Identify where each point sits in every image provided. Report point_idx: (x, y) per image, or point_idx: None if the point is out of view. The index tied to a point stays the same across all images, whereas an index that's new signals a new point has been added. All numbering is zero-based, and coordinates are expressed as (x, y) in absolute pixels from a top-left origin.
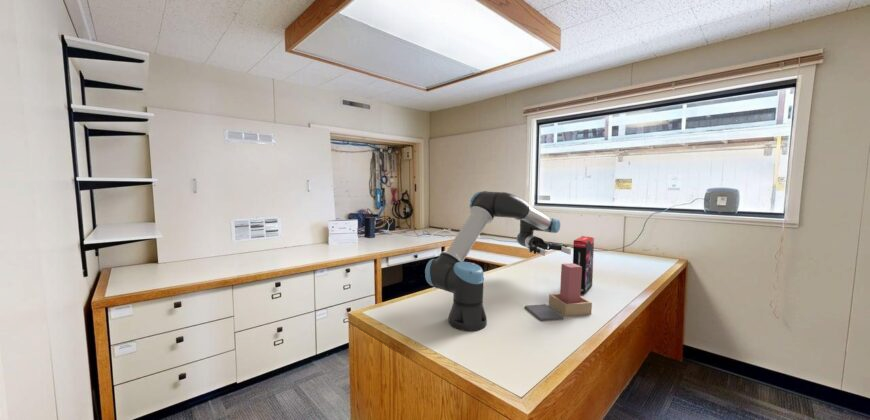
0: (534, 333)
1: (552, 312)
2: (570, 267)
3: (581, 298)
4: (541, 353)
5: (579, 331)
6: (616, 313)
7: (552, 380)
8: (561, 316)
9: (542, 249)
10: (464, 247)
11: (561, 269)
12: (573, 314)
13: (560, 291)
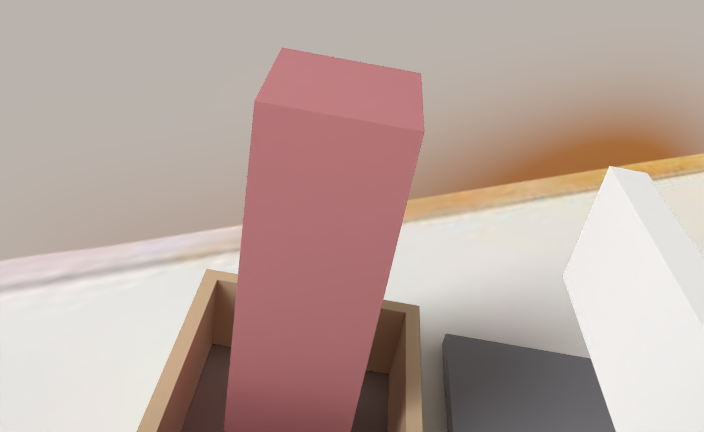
0: None
1: (481, 394)
2: (411, 73)
3: (192, 344)
4: None
5: (439, 251)
6: (31, 287)
7: (664, 165)
8: (453, 340)
9: (667, 209)
10: None
11: (409, 191)
12: None
13: (361, 382)
